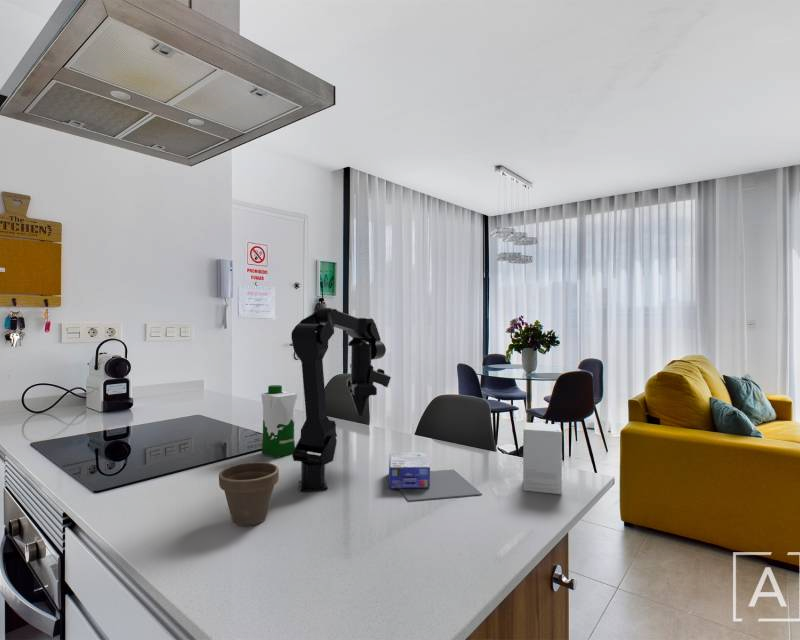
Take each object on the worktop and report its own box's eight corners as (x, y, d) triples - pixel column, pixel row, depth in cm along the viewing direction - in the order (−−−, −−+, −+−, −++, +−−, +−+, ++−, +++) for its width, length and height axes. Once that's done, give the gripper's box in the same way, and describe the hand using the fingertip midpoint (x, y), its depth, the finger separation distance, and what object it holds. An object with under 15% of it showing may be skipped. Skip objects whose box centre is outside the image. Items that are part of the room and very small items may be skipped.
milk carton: (280, 447, 146) (281, 383, 146) (300, 452, 141) (301, 386, 141) (257, 453, 139) (258, 386, 139) (276, 459, 134) (277, 390, 134)
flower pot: (215, 536, 87) (215, 482, 87) (220, 511, 98) (221, 463, 98) (279, 529, 90) (279, 477, 90) (277, 506, 101) (278, 459, 101)
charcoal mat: (481, 495, 109) (481, 493, 109) (408, 501, 104) (408, 500, 104) (453, 470, 126) (453, 469, 126) (389, 475, 122) (389, 474, 122)
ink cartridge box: (388, 473, 123) (389, 492, 109) (388, 452, 123) (389, 468, 109) (426, 473, 123) (431, 492, 109) (426, 452, 124) (431, 468, 109)
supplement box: (559, 482, 119) (560, 423, 118) (562, 495, 110) (563, 431, 110) (522, 478, 121) (523, 421, 121) (522, 490, 112) (523, 428, 112)
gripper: (395, 364, 126) (394, 421, 126) (382, 358, 145) (381, 408, 145) (354, 364, 124) (353, 423, 124) (346, 358, 142) (346, 409, 142)
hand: (360, 415), depth 134 cm, fingers closed
